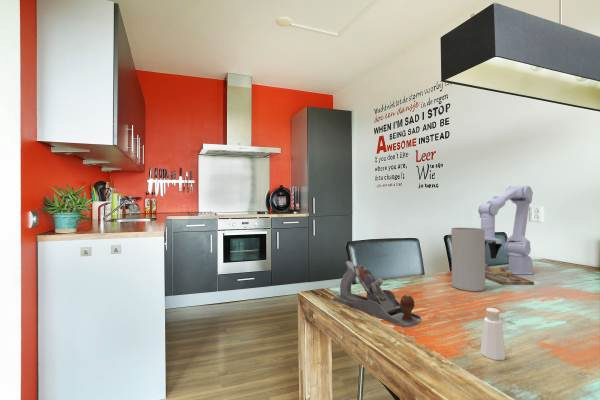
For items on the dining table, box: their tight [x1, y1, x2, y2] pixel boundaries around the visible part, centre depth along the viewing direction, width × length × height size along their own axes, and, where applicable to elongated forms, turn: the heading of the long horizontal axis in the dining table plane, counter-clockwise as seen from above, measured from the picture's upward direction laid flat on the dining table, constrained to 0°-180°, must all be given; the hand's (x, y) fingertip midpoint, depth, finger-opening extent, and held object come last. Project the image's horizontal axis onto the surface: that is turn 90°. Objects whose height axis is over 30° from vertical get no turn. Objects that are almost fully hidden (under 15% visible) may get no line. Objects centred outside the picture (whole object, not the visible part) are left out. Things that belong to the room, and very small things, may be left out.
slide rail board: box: [485, 270, 535, 286], centre depth 150 cm, size 14×22×1 cm, turn 0°
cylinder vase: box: [451, 227, 486, 292], centre depth 135 cm, size 12×12×25 cm
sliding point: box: [489, 266, 513, 276], centre depth 148 cm, size 9×2×4 cm, turn 90°
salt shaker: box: [479, 307, 507, 361], centre depth 77 cm, size 5×5×11 cm
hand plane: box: [332, 260, 423, 328], centre depth 109 cm, size 9×33×15 cm, turn 35°
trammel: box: [485, 263, 509, 282], centre depth 150 cm, size 9×21×4 cm, turn 0°
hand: (487, 256), depth 151 cm, fingers open, 7 cm apart
